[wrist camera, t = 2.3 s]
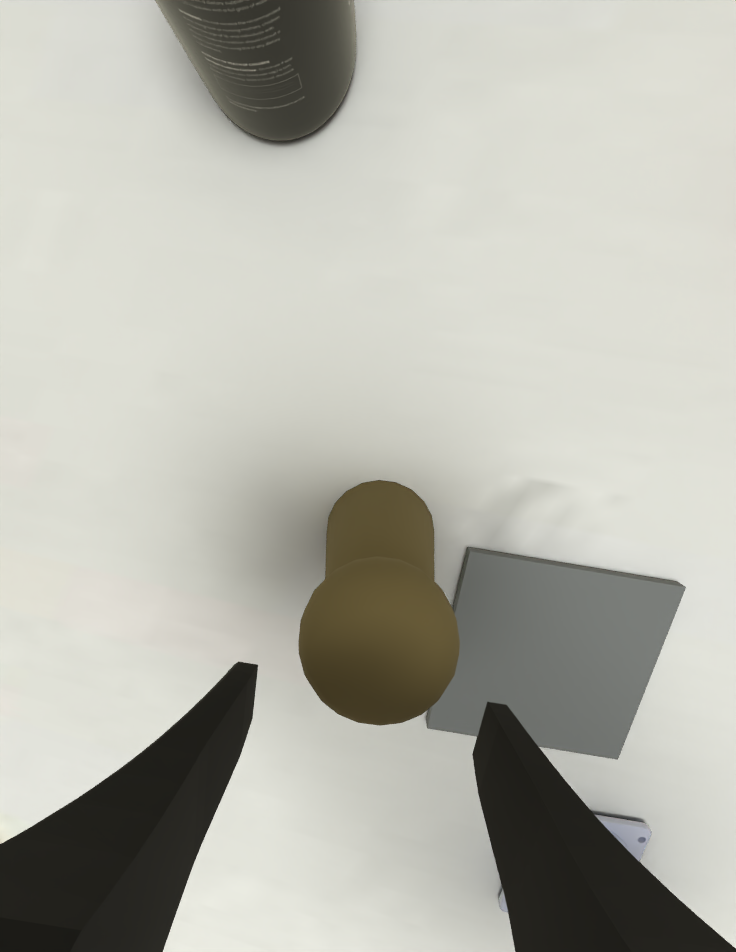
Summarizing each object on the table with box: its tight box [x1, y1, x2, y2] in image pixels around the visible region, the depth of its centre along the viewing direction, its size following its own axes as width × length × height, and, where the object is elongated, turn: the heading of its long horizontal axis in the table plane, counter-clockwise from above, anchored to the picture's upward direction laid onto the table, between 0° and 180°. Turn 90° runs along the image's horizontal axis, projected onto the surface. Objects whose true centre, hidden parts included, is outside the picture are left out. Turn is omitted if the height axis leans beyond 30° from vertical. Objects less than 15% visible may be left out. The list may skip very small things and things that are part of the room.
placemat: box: [426, 547, 686, 759], centre depth 23 cm, size 12×12×1 cm
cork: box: [299, 480, 460, 725], centre depth 16 cm, size 6×6×11 cm
